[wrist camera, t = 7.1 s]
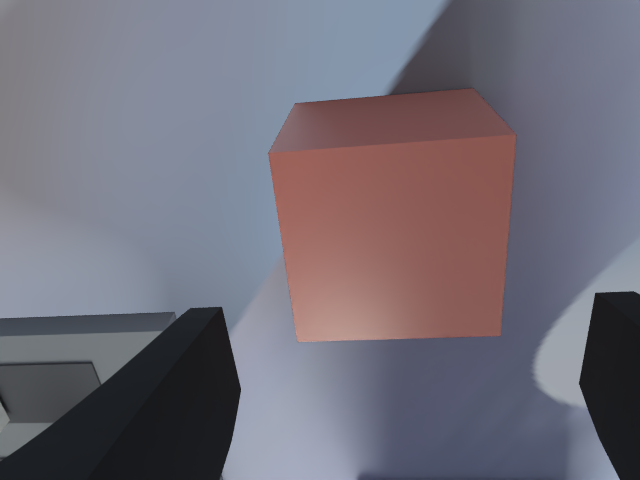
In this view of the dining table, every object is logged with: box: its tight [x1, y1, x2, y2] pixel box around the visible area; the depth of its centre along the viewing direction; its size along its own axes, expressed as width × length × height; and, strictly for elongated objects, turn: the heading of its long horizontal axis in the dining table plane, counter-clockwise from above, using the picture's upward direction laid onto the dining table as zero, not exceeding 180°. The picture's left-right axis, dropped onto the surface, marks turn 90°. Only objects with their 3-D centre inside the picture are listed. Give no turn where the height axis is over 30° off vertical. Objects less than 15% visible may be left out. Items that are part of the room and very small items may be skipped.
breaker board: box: [0, 312, 222, 480], centre depth 22 cm, size 13×11×2 cm
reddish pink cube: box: [268, 88, 517, 342], centre depth 14 cm, size 5×5×5 cm
